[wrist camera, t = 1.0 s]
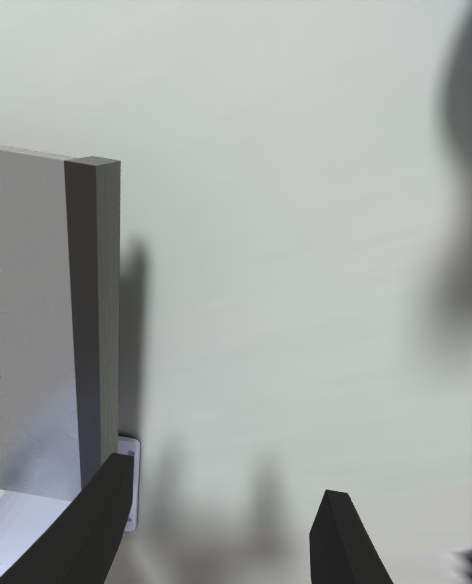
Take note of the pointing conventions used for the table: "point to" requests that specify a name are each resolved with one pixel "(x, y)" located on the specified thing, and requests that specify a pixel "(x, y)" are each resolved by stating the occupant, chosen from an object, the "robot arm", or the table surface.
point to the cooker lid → (58, 320)
